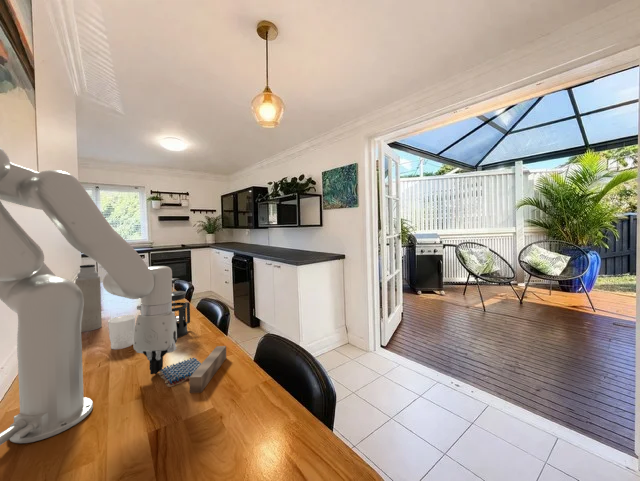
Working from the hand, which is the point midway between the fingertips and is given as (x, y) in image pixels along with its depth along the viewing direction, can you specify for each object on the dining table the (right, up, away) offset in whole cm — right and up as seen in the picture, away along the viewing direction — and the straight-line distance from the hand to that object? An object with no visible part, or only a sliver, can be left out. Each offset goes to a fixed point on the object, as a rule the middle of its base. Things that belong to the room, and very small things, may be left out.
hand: (156, 371), depth 73 cm
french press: (-11, 0, +30) cm, 32 cm away
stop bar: (+16, -1, 0) cm, 16 cm away
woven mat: (+8, -1, +1) cm, 8 cm away
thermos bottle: (-53, -1, +37) cm, 65 cm away
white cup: (-25, -1, +20) cm, 32 cm away
